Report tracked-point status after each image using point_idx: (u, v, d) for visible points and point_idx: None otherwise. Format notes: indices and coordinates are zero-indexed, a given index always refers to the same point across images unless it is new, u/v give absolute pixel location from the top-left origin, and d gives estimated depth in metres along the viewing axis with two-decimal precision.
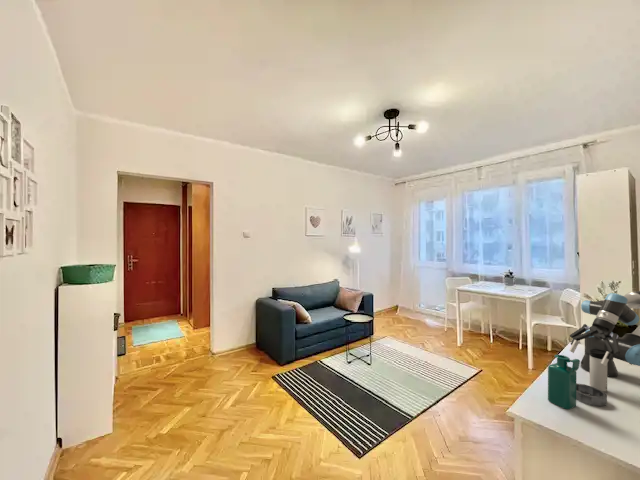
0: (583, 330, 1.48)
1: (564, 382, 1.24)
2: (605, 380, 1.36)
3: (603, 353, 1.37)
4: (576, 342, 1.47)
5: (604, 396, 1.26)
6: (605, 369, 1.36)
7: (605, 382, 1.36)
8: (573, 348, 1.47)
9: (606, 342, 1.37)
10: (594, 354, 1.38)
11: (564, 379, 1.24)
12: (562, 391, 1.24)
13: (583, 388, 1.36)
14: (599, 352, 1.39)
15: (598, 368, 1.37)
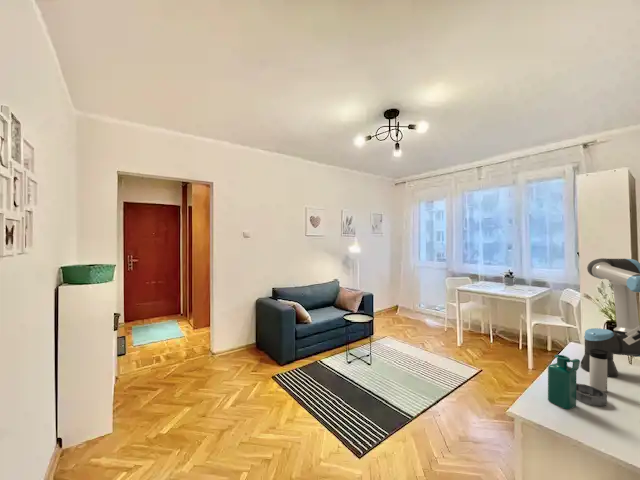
0: None
1: (564, 382, 1.24)
2: (605, 380, 1.36)
3: (603, 353, 1.37)
4: None
5: (604, 396, 1.26)
6: (605, 369, 1.36)
7: (605, 382, 1.36)
8: None
9: None
10: (594, 354, 1.38)
11: (564, 379, 1.24)
12: (562, 391, 1.24)
13: (583, 388, 1.36)
14: (599, 352, 1.39)
15: (598, 368, 1.37)
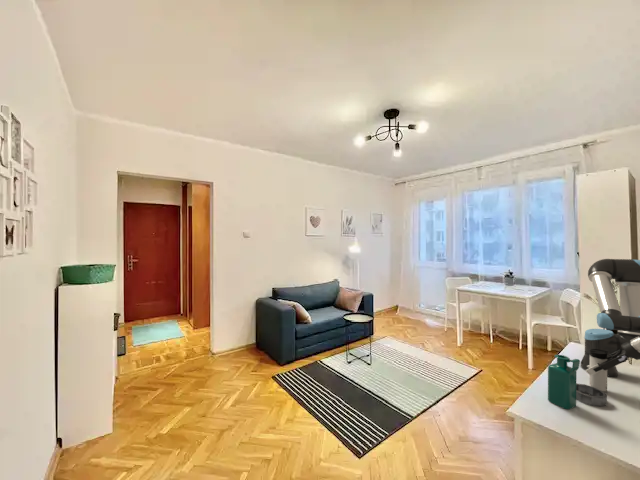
0: None
1: (564, 382, 1.24)
2: (605, 380, 1.36)
3: (603, 353, 1.37)
4: None
5: (604, 396, 1.26)
6: None
7: (605, 382, 1.36)
8: None
9: None
10: (594, 354, 1.38)
11: (564, 379, 1.24)
12: (562, 391, 1.24)
13: (583, 388, 1.36)
14: (599, 352, 1.39)
15: None
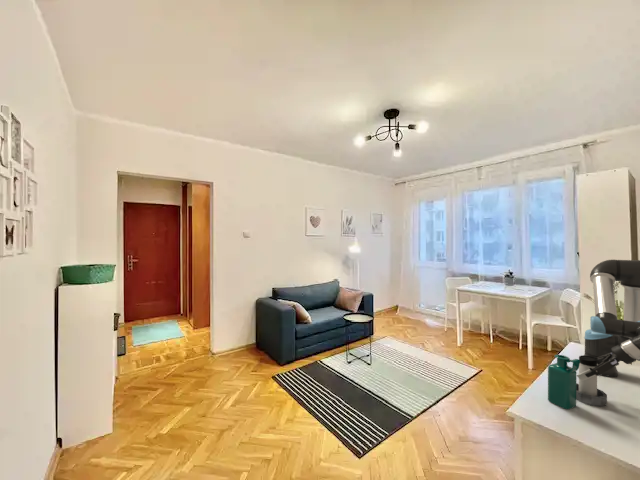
0: None
1: (564, 382, 1.24)
2: (595, 389, 1.28)
3: (593, 360, 1.30)
4: None
5: (604, 396, 1.26)
6: (595, 377, 1.28)
7: (595, 391, 1.29)
8: None
9: None
10: (583, 361, 1.31)
11: (564, 379, 1.24)
12: (562, 391, 1.24)
13: None
14: (588, 359, 1.31)
15: None
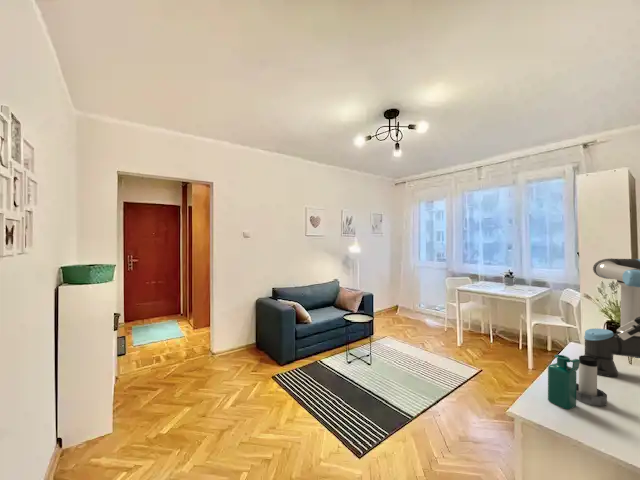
0: None
1: (564, 382, 1.24)
2: (595, 389, 1.28)
3: (593, 360, 1.30)
4: None
5: (604, 396, 1.26)
6: (595, 377, 1.28)
7: (595, 391, 1.29)
8: None
9: None
10: (583, 361, 1.31)
11: (564, 379, 1.24)
12: (562, 391, 1.24)
13: None
14: (588, 359, 1.31)
15: (587, 376, 1.29)
